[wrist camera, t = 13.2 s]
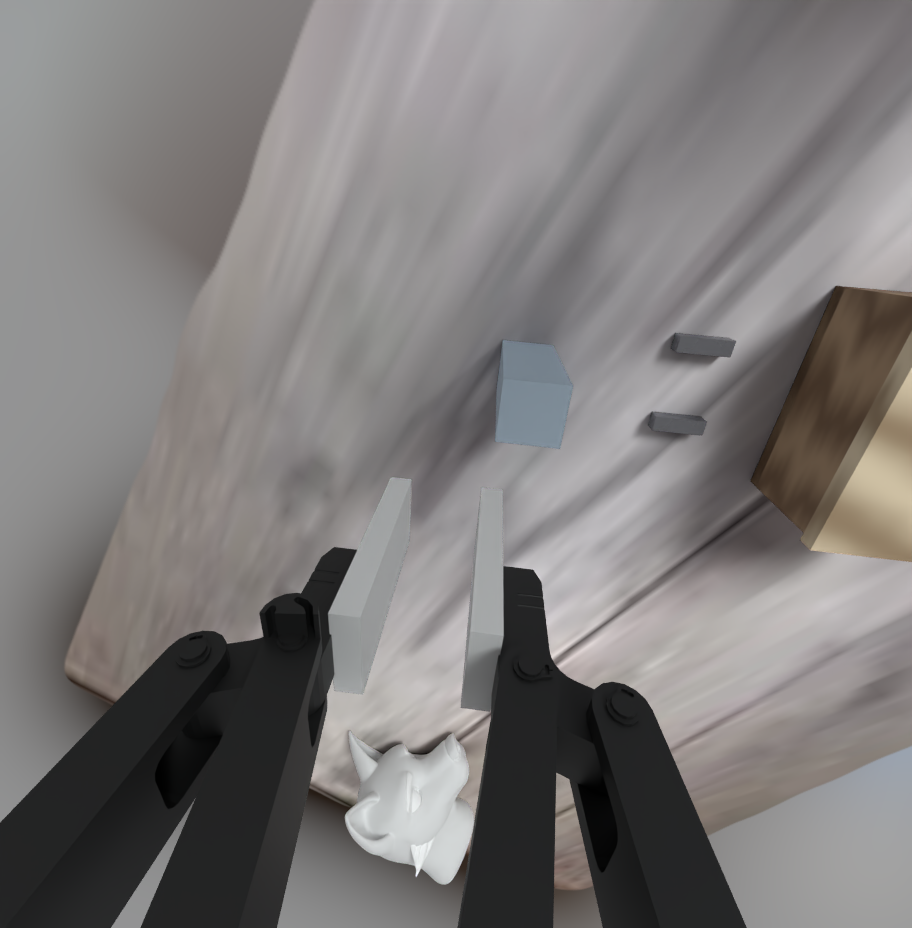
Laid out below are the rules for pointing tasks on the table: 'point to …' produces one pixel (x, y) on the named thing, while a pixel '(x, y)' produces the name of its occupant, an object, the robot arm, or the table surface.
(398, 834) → the fox head
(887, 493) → the lid
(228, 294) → the table surface
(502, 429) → the blue-grey block
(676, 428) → the pair of grey bars
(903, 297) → the toolbox
